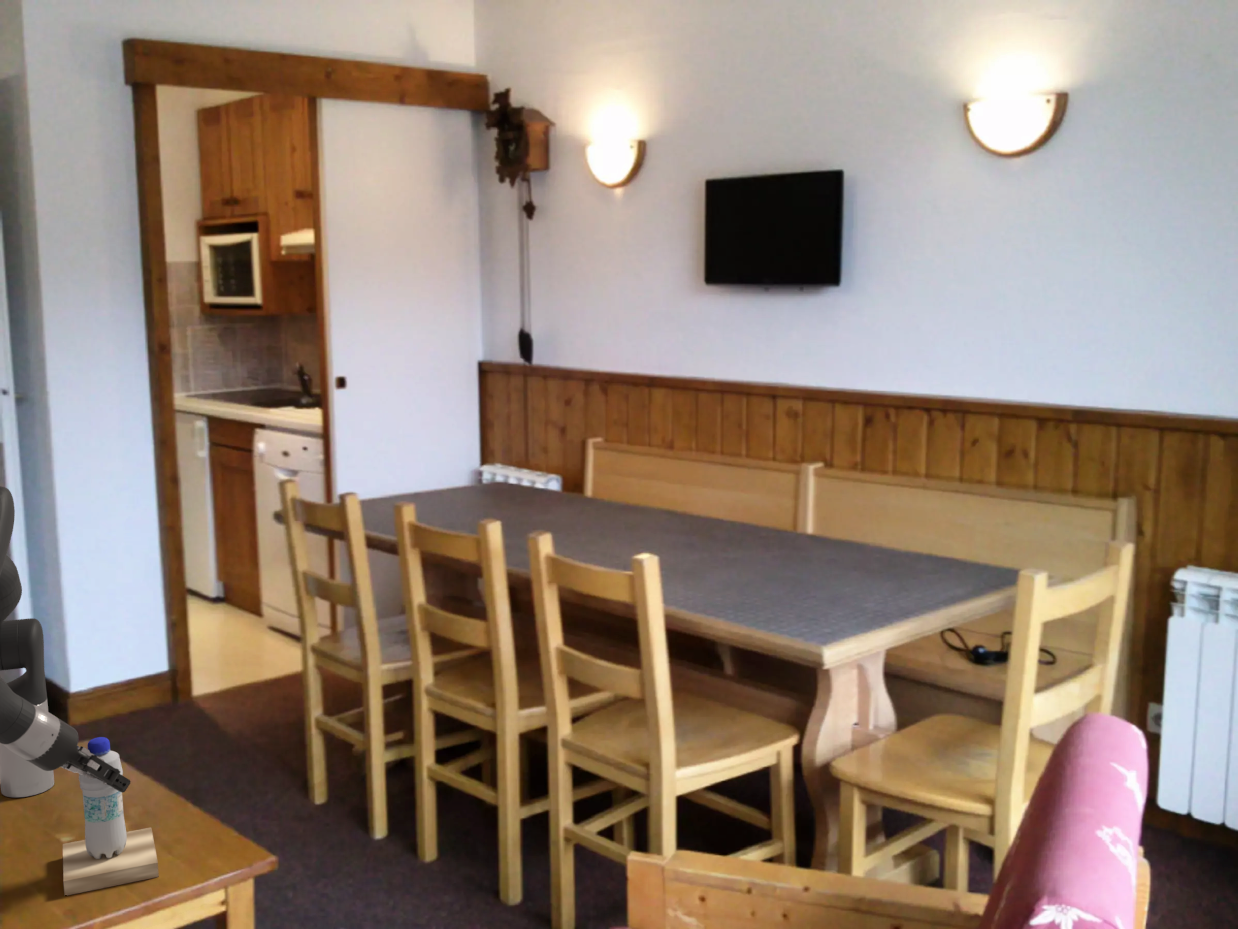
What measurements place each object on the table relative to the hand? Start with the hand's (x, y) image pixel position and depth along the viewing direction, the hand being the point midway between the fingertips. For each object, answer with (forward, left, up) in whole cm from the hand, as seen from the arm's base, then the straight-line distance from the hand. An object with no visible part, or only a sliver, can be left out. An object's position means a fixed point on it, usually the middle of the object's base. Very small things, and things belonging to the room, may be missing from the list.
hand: (111, 781), depth 199 cm
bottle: (0, -1, -12) cm, 12 cm away
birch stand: (+1, -1, -15) cm, 15 cm away
